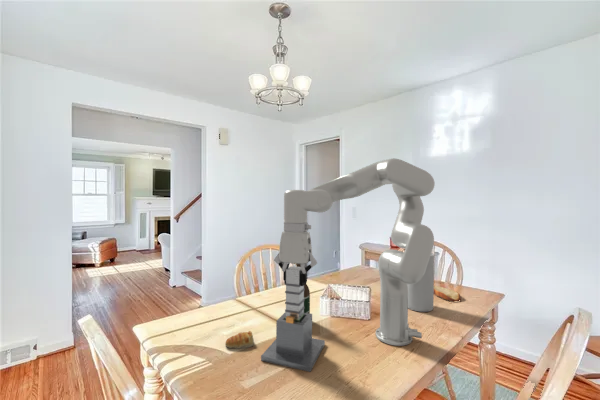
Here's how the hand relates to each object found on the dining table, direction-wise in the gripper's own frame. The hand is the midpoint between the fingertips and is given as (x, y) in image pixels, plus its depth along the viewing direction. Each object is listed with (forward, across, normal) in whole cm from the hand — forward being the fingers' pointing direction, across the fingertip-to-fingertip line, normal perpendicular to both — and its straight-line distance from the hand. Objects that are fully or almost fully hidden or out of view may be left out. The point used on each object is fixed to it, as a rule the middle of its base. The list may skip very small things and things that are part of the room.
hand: (295, 283), depth 92 cm
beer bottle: (+23, +6, -22) cm, 32 cm away
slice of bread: (+23, -53, -79) cm, 98 cm away
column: (+13, 0, 0) cm, 13 cm away
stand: (+23, 0, 0) cm, 23 cm away
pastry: (+23, +19, +2) cm, 30 cm away
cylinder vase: (+23, -40, -56) cm, 73 cm away
